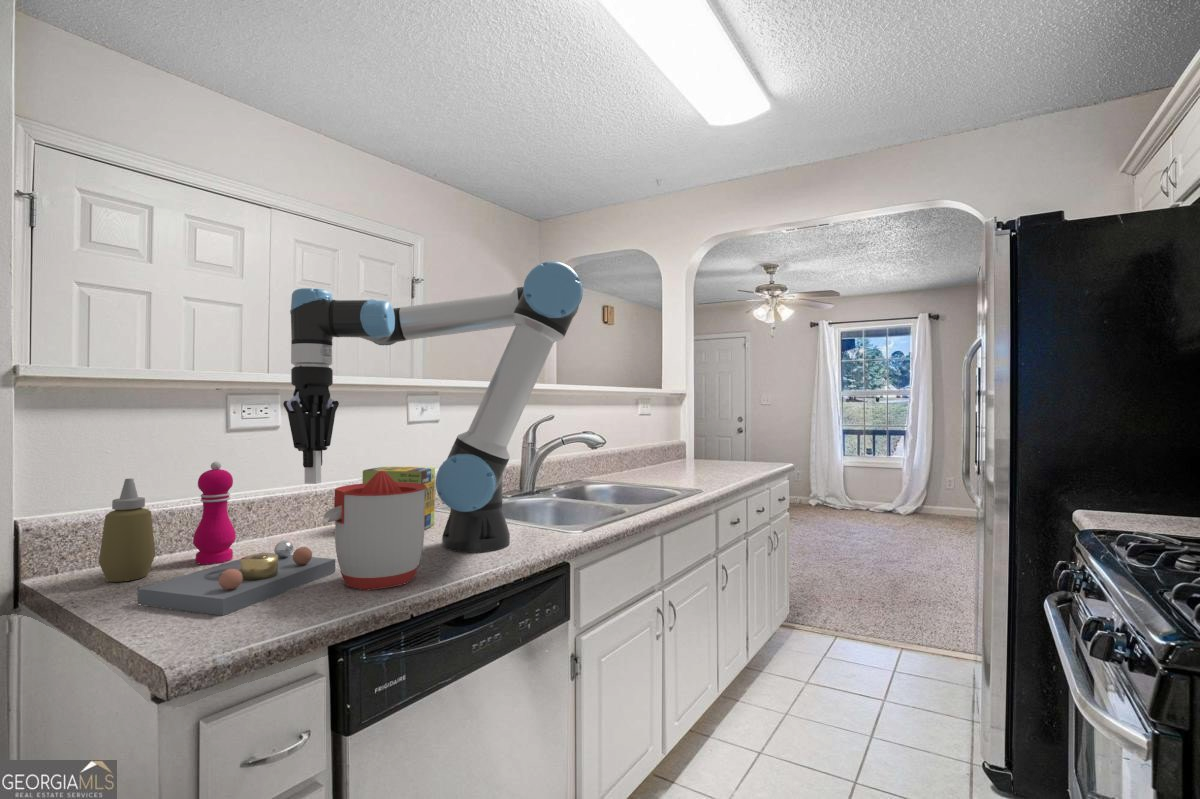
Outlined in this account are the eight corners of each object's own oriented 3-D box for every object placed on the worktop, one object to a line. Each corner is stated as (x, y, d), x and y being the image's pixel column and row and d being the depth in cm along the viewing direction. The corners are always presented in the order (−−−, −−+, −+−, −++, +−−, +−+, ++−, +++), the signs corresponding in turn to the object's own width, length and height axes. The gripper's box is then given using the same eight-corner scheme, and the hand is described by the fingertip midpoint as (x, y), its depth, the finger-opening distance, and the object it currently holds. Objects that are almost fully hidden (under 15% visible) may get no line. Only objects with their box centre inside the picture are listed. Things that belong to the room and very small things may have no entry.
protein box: (421, 533, 145) (421, 471, 145) (360, 532, 146) (361, 470, 146) (435, 525, 156) (436, 466, 156) (379, 523, 156) (379, 465, 157)
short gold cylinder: (285, 571, 102) (285, 553, 102) (259, 580, 96) (259, 561, 96) (259, 569, 103) (259, 551, 103) (232, 578, 98) (232, 559, 98)
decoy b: (247, 587, 94) (247, 567, 94) (229, 593, 91) (230, 572, 91) (231, 585, 94) (231, 565, 94) (213, 591, 91) (213, 570, 91)
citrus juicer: (313, 579, 106) (315, 469, 106) (409, 564, 117) (410, 464, 117) (332, 603, 94) (334, 478, 94) (438, 584, 104) (439, 471, 104)
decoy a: (316, 563, 108) (316, 545, 108) (303, 567, 105) (303, 549, 105) (301, 561, 109) (301, 544, 109) (288, 566, 106) (288, 548, 106)
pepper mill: (185, 565, 114) (186, 463, 115) (204, 556, 122) (205, 460, 122) (225, 564, 116) (226, 463, 116) (241, 555, 123) (243, 459, 123)
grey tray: (335, 572, 111) (335, 559, 111) (223, 615, 88) (223, 599, 88) (262, 565, 115) (262, 552, 115) (137, 604, 92) (137, 588, 92)
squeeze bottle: (138, 569, 111) (140, 475, 112) (165, 575, 108) (167, 477, 109) (87, 581, 104) (89, 480, 104) (115, 587, 101) (117, 482, 101)
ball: (297, 556, 113) (297, 539, 113) (284, 560, 110) (284, 543, 110) (283, 554, 114) (283, 538, 114) (270, 559, 111) (270, 542, 111)
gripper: (303, 363, 111) (304, 488, 111) (349, 367, 124) (350, 479, 124) (271, 365, 113) (271, 487, 113) (319, 368, 126) (320, 478, 125)
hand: (312, 483), depth 118 cm, fingers closed
